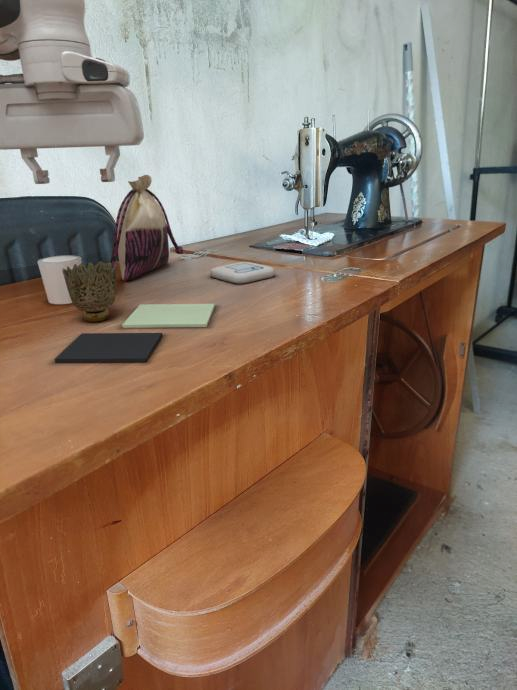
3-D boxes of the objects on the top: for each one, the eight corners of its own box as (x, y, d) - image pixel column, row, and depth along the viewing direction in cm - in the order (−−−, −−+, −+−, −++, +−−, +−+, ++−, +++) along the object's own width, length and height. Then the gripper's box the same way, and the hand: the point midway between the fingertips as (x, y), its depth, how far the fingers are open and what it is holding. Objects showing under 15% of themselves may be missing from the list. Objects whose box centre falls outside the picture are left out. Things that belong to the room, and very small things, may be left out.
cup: (63, 319, 77) (54, 266, 75) (109, 309, 82) (102, 258, 79) (82, 331, 72) (74, 274, 69) (131, 319, 76) (124, 266, 74)
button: (279, 267, 99) (238, 276, 93) (279, 276, 100) (239, 285, 94) (245, 260, 106) (206, 268, 100) (245, 268, 107) (206, 276, 101)
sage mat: (122, 328, 73) (121, 324, 73) (140, 307, 82) (139, 304, 82) (206, 327, 72) (206, 323, 72) (215, 306, 82) (215, 303, 82)
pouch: (132, 288, 94) (120, 178, 87) (94, 286, 96) (79, 178, 89) (191, 260, 116) (185, 171, 109) (158, 259, 118) (150, 171, 111)
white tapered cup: (42, 297, 89) (35, 257, 86) (83, 292, 92) (77, 253, 89) (47, 307, 83) (39, 264, 81) (90, 301, 86) (84, 259, 84)
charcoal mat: (55, 362, 62) (54, 358, 61) (82, 336, 70) (81, 333, 70) (146, 362, 61) (145, 358, 61) (162, 336, 69) (162, 332, 69)
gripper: (-33, 72, 65) (-9, 186, 70) (127, 65, 64) (140, 182, 69) (-7, 78, 71) (13, 183, 76) (140, 72, 70) (151, 179, 75)
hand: (75, 182), depth 73 cm, fingers open, 8 cm apart
